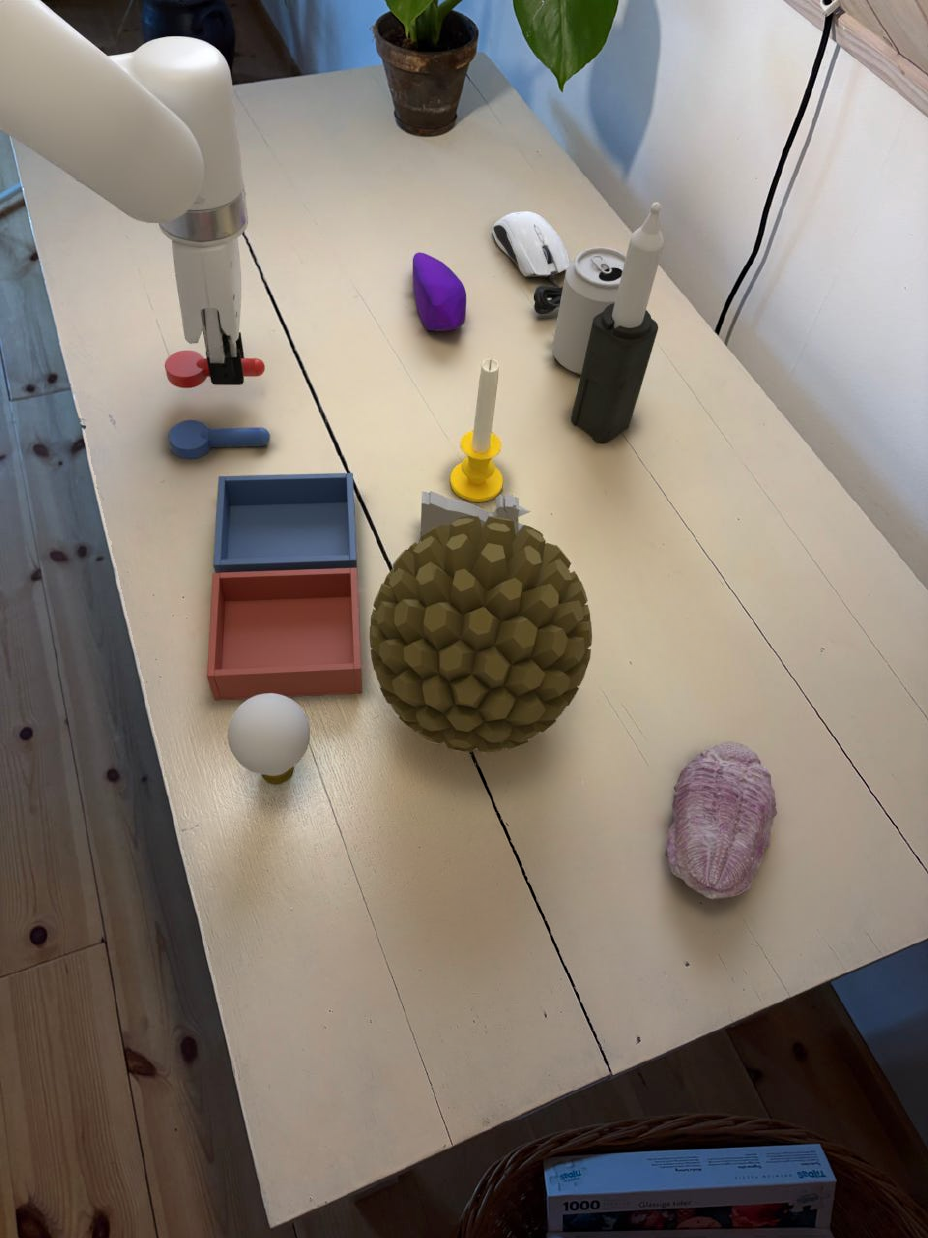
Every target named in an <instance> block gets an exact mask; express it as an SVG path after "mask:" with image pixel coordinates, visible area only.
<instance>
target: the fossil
mask: <svg viewBox="0 0 928 1238" xmlns="http://www.w3.org/2000/svg"><path fill="white" fill-rule="evenodd" d="M677 778H678V779H677V781H676V783H675V785H674V786H673V789H674V793H673V794H672V795H673V796H672V800H671V801H672V802H671V807H672V814H673V818H674V819H673V823H672V824H671V825H670V826H669V827H668V829H667V833H668V835H667V839H666V840H667V841H666V850H665V856H666V858H667V861H668V865H669V866H668V867H669V871H670V873H671V874H673V875H674V876H675V877H676V878H679V879H681V880H683V882H684V883H685V885H687V886H688V887H689V888H691V889H693V890H695V891H696V892H697V893H698V894H701V895H703V896H704V897H705V898H708V899H711V900H713V901H720V900H723V899H726V898H731V897H736V896H739V895H740V896H741V894H743V893H745V892H746V891H747V890H749V889H752V888H751V885H752V884H753V883H754V881H755V874H757V872H758V871H759V868H760V865H761V863H762V860H763V858H764V853H765V851H764V850H765V849H766V848H769V847H771V831H772V828H773V825H774V821H775V820H774V819H775V817H776V816H777V815H778V810H777V801H776V796H775V795H776V794H775V790H774V787H773V786H772V774H771V773H770V771H769V770H768V768H767V767H766V766H764V765H763V764H762V763H761V759H760V758H759V757H758V755H757V753H755V751H754V750H752V749H751V748H749V747H748V746H747V745H745V744H743V743H739V742H736V741H727V742H722V743H719V744H715V746H714V747H712V748H709V749H707V748H706V749H704V750H701V752H700V753H699V754H698V755H696V756H694V757H693V758H692V759H691V760H690V761H689V762H688V763H687V764H686V765H685V767H683V769H682V770H681V771H680V773H679V775H678V777H677Z"/></svg>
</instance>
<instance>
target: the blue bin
mask: <svg viewBox="0 0 928 1238" xmlns="http://www.w3.org/2000/svg"><path fill="white" fill-rule="evenodd" d="M216 497H217V498H216V513H215V527H214V528H215V531H214V547H213V548H214V549H213V561H212V563H213V564H212V565H213V569H214V573H223V572H250V571H278V570H306V569H334V568H357V569H358V561H357V538H356V537H357V535H356V515H355V514H356V513H355V512H356V511H355V492H354V474H353V472H329V473H327V472H326V473H325V472H324V473H290V474H289V473H288V474H287V473H286V474H251V475H250V474H245V475H243V474H242V475H219V476H218V479H217V495H216Z"/></svg>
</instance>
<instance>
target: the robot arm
mask: <svg viewBox="0 0 928 1238" xmlns="http://www.w3.org/2000/svg"><path fill="white" fill-rule="evenodd" d="M233 87H234V86H233V79H232V75H231V69H230V65H229V64H228V61H227V59H226V57H225V56H224V55H223V54H222V53H221V51H220V50H219V49H217V48H216V47H215V46H214V45H212V44H210V43H209V42H207V41H205V40H202V39H199V38H195V37H191V36H178V35H177V36H176V35H175V36H164V37H159V38H154V39H151V40H149V41H147V42H145V43H143V44H141V46H139V47H138V48H137V49H136V50H135V51H132V52H127V53H121V54H115V55H107V54H105V53H104V52H103V51H102V50H100V49H99V48H98V47H97V46H96V45H95V44H93V43H92V42H91V41H90V40H89V39H87V38H86V37H85V36H84V35H83V34H81V33H80V32H79V31H77V30H76V29H75V28H74V27H73V26H71V24H69V23H68V22H66V21H65V20H64V19H63V18H62V17H61V16H60V15H58V14H57V13H56V12H54V11H53V10H52V9H51V8H50V7H49V6H48V5H46V3H44V2H43V1H42V0H0V131H1V132H3V133H4V134H6V135H8V136H9V137H11V138H13V139H14V140H16V141H17V142H18V143H21V144H22V145H23V146H25V147H27V148H28V149H30V150H31V151H32V152H34V153H35V154H37V155H38V156H40V157H42V158H43V159H44V160H46V161H48V162H49V163H51V165H54V166H55V167H56V168H57V169H60V170H61V171H63V172H64V173H65V174H67V175H69V176H70V177H71V178H73V179H74V180H76V181H77V182H79V183H80V184H82V185H84V186H85V187H86V188H88V189H89V190H91V191H92V192H94V193H95V194H97V195H98V196H100V197H101V198H103V199H104V200H106V201H107V202H108V203H110V204H111V205H113V206H114V207H115V208H117V209H118V210H119V211H121V212H122V213H124V214H125V215H127V216H128V217H130V218H132V219H133V220H136V221H139V222H143V223H146V224H158V226H159V230H160V231H161V232H162V234H163V235H164V236H165V237H167V238H168V239H169V240H171V245H172V246H171V247H172V257H173V258H172V259H173V268H174V276H175V281H176V282H175V284H176V290H177V297H178V302H179V309H180V315H181V322H182V330H183V336H184V340H185V341H186V342H187V343H188V344H191V345H192V344H199V341H200V339H201V336H203V341H204V348H205V358H207V363H208V368H209V374H210V377H209V379H210V383H211V384H212V385H213V386H214V385H215V386H222V385H223V386H230V385H232V386H233V385H234V386H235V385H236V386H238V385H244V383H245V377H244V375H243V368H242V361H241V358H245V353H244V345H243V339H242V332H241V331H240V324H241V311H242V310H241V309H242V266H241V255H240V247H239V239H238V238H239V237H240V236H241V235H243V233H244V232H245V231H246V229H247V227H248V225H249V217H248V216H249V215H248V206H247V197H246V190H245V183H244V173H243V164H242V158H241V156H242V155H241V149H240V137H239V131H238V120H237V113H236V104H235V97H234V96H235V95H234V88H233Z"/></svg>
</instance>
